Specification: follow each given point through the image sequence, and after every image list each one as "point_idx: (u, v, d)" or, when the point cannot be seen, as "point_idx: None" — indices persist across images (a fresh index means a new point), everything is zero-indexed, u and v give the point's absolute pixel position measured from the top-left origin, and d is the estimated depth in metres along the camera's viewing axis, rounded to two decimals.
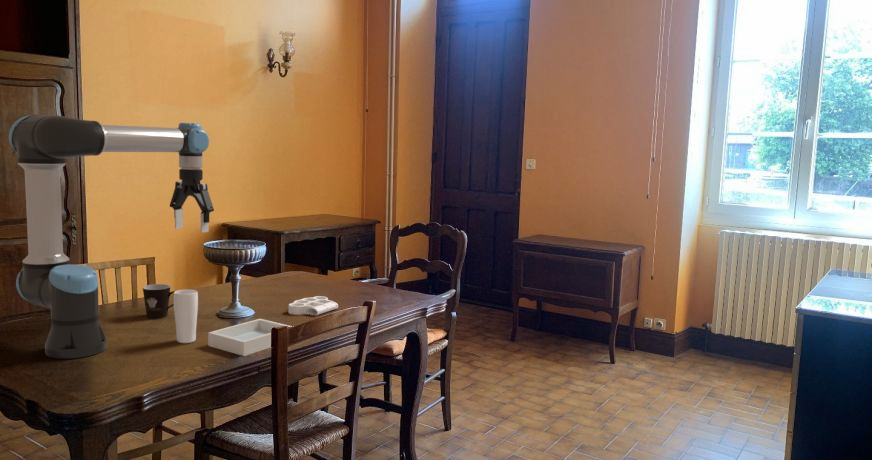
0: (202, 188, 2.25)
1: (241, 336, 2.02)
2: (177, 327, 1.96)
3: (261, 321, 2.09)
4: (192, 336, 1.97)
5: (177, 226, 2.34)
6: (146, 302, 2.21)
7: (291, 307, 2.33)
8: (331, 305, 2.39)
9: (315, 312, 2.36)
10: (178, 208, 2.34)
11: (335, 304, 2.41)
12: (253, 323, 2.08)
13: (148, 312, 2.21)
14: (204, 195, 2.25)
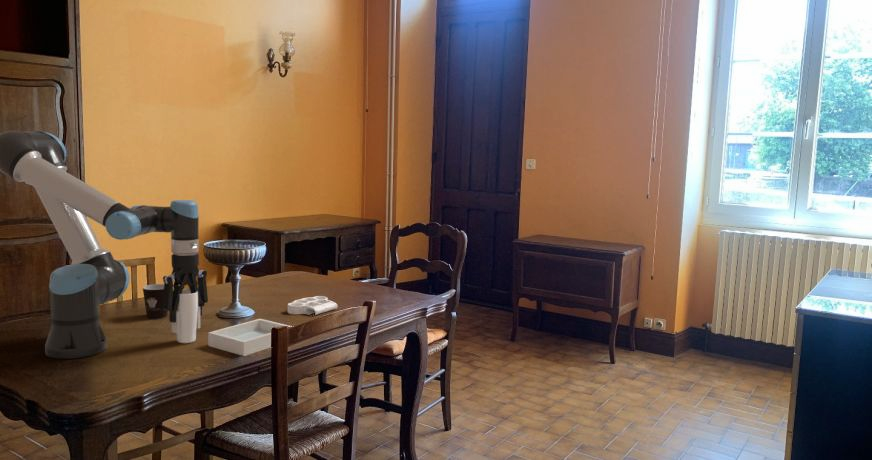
0: (164, 282, 1.91)
1: (241, 336, 2.02)
2: None
3: (261, 321, 2.09)
4: (192, 336, 1.97)
5: None
6: (146, 302, 2.21)
7: (290, 307, 2.33)
8: (330, 305, 2.39)
9: (314, 312, 2.36)
10: None
11: (334, 304, 2.41)
12: (253, 323, 2.08)
13: (148, 312, 2.21)
14: (164, 290, 1.91)
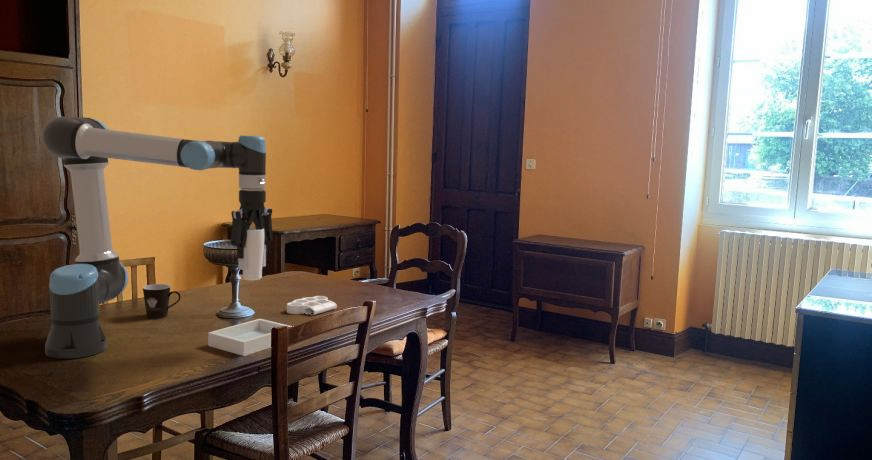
0: (233, 217, 1.90)
1: (241, 336, 2.02)
2: None
3: (261, 321, 2.09)
4: (259, 273, 1.95)
5: None
6: (146, 302, 2.21)
7: (289, 306, 2.34)
8: (329, 305, 2.39)
9: (313, 312, 2.36)
10: None
11: (334, 304, 2.41)
12: (253, 323, 2.08)
13: (148, 312, 2.21)
14: (233, 225, 1.90)
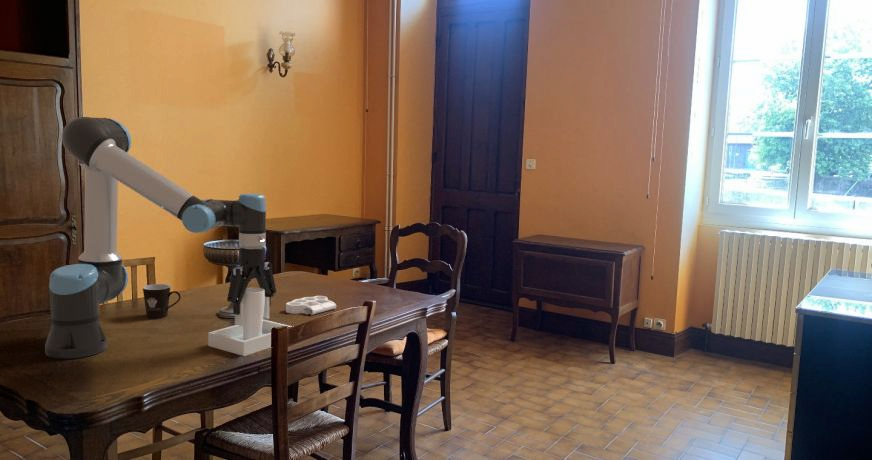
0: (232, 273, 1.91)
1: (241, 336, 2.02)
2: (244, 325, 1.97)
3: None
4: (258, 334, 1.98)
5: None
6: (146, 302, 2.21)
7: (288, 306, 2.34)
8: (328, 305, 2.39)
9: (312, 311, 2.37)
10: (266, 295, 2.02)
11: (333, 304, 2.41)
12: None
13: (148, 312, 2.21)
14: (231, 282, 1.91)
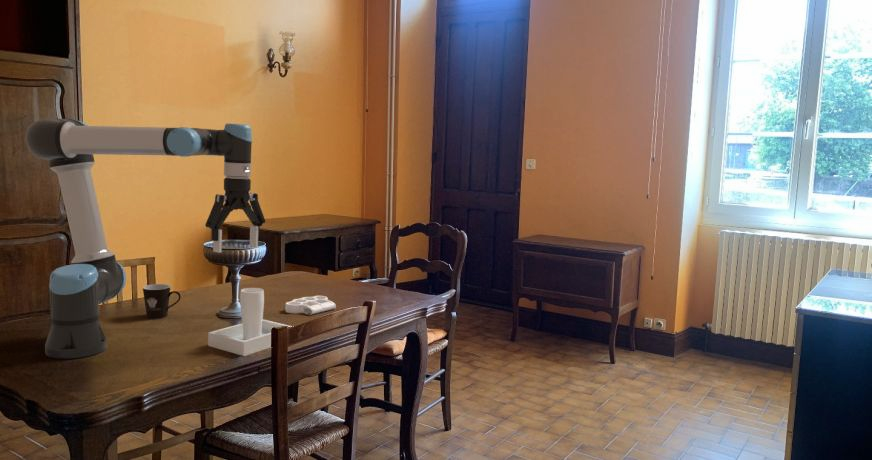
0: (216, 199, 1.90)
1: (241, 336, 2.02)
2: (244, 325, 1.97)
3: None
4: (258, 334, 1.98)
5: (250, 244, 2.03)
6: (146, 302, 2.21)
7: (287, 305, 2.35)
8: (328, 305, 2.39)
9: (311, 311, 2.37)
10: (255, 224, 2.02)
11: (333, 304, 2.41)
12: None
13: (148, 312, 2.21)
14: (213, 208, 1.89)
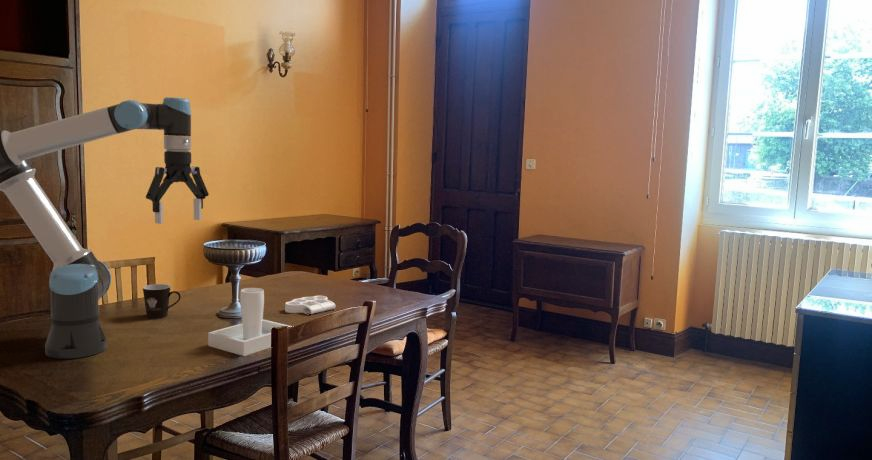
0: (156, 172, 1.94)
1: (241, 336, 2.02)
2: (244, 325, 1.97)
3: None
4: (258, 334, 1.98)
5: (194, 217, 2.07)
6: (146, 302, 2.21)
7: (287, 305, 2.35)
8: (328, 305, 2.39)
9: (311, 311, 2.37)
10: (198, 197, 2.07)
11: (332, 304, 2.41)
12: None
13: (148, 312, 2.21)
14: (153, 180, 1.94)
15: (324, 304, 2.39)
